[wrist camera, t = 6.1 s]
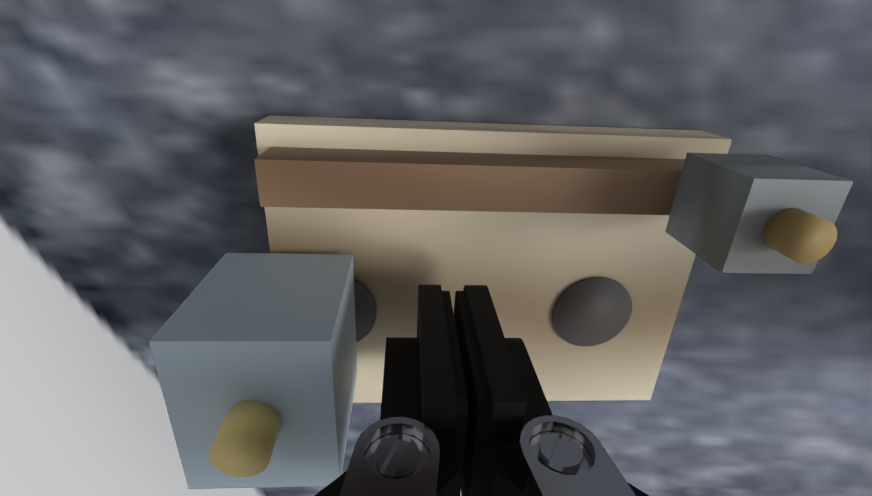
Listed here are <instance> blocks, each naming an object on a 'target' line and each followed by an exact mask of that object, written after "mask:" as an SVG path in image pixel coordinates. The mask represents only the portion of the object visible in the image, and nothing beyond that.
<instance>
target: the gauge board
mask: <svg viewBox="0 0 872 496" xmlns="http://www.w3.org/2000/svg"><path fill="white" fill-rule="evenodd" d="M254 126H255V134H256V142H257V150H258V157H256V158H255V159H254V163H255V171H256V179H257V187H258V194H259V202H260V207H265V215H266V224H267V232H268V240H269V248H270V253H279V254H353V270H354V296H355V322H356V349H357V378H356V384H355V391H354V397H353V403H382V389H383V375H384V361H385V347H386V337H417V311H418V286H419V284H421V285H441V289H442V291H450V296H451V302H452V308H453V313H454V302H455V292H456V291H463V288H464V285H487V287H488V289H489V292H490V295H491V298H492V301H493V304H494V307H495V310H496V313H497V316H498V319H499V322H500V325H501V328H502V331H503V334H504V337H505V338H521V339H522V340H523V342H524V344H525V346H526V349H527V352H528V354H529V357H530V359H531V362H532V364H533V367H534V369H535V372H536V374H537V377H538V379H539V382H540V385H541V387H542V390H543V392H544V395H545V397H546V400H547V401H590V400H651V396H652V393H653V390H654V387H655V384H656V380H657V377H658V374H659V371H660V368H661V365H662V361H663V358H664V355H665V352H666V349H667V345H668V342H669V339H670V336H671V333H672V329H673V326H674V323H675V320H676V317H677V314H678V310H679V307H680V304H681V301H682V298H683V294H684V291H685V288H686V285H687V282H688V278H689V275H690V272H691V269H692V266H693V263H694V259H695V256H696V255H698V256H699V257H700V258H702V259H703V260H705V261H706V262H707V263H709V264H710V265H711V266H713V267H714V268H716V269H717V270H718V271H720V272H721V273H771V274H813V272H814V270H815V267H816V265H817V263H818V261H819V259H821V258H823V257H824V256H825V255H826V254H827V253H828V252H829V251H830V250H831V249H832V248H833V246H834V244H835V242H836V240H837V229H836V227H835V225H834V224H835V222H836V220H837V218H838V215H839V213H840V211H841V209H842V206H843V204H844V202H845V200H846V197H847V195H848V193H849V190H850V188H851V186H852V184H853V181H851V180H848V179H845V178H841V177H838V176H835V175H832V174H828V173H825V172H822V171H819V170H815V169H812V168H809V167H806V166H802V165H799V164H796V163H792V162H789V161H786V160H783V159H779V158H776V157H773V156H770V155H751V154H728V151H729V148H730V145H731V141H732V139H729V138H726V137H722V136H719V135H715V134H712V133H708V132H705V131H701V130H673V129H644V128H615V127H587V126H558V125H530V124H501V123H472V122H444V121H415V120H386V119H358V118H329V117H300V116H272V115H269V116H268V117H266V118H264V119H262V120H260V121H258V122H256V123H254Z"/></svg>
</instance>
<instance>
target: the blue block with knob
mask: <svg viewBox="0 0 872 496" xmlns="http://www.w3.org/2000/svg"><path fill="white" fill-rule="evenodd" d="M149 344H150V348H151V351H152V355H153V359H154V363H155V366H156V370H157V374H158V377H159V381H160V385H161V388H162V392H163V396H164V399H165V403H166V407H167V410H168V414H169V418H170V422H171V425H172V428H173V432H174V436H175V440H176V444H177V447H178V451H179V455H180V458H181V462H182V466H183V469H184V473H185V476H186V480H187V484H188V488H189V489H211V488H255V487H298V486H328V485H329V484H330V483H332V482H333V481H334V480H335V479H337V478H338V477H339V476H341V475H342V470H343V463H344V456H345V450H346V443H347V437H348V430H349V424H350V417H351V411H352V404H353V397H354V391H355V384H356V378H357V349H356V322H355V296H354V270H353V254H279V253H225V255H224V256H223V257H222V258H221V259H220V260H219V261H218V263H217V264H216V265H215V266H214V267H213V268H212V269H211V271H210V272H209V273H208V274H207V275H206V276H205V277H204V279H203V280H202V281H201V282H200V283H199V284H198V286H197V287H196V288H195V289H194V290H193V291H192V292H191V294H190V295H189V296H188V297H187V298H186V299H185V300H184V302H183V303H182V304H181V305H180V306H179V307H178V308H177V310H176V311H175V312H174V313H173V314H172V315H171V317H170V318H169V319H168V320H167V321H166V322H165V323H164V325H163V326H162V327H161V328H160V329H159V330H158V331H157V333H156V334H155V335H154V336H153V337H152V338H151V339H150V341H149Z"/></svg>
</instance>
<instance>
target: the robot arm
mask: <svg viewBox="0 0 872 496" xmlns="http://www.w3.org/2000/svg"><path fill="white" fill-rule="evenodd" d="M460 490H461V493H462V496H649V495H647V494H645V493H644V492H642V491H640V490H639V489H637V488H636V487H634V486H632V485H631V484H629V483H627V482H626V480H625V479H624V477H623V476H622V474H621V473H620V471H619V470H618V468H617V467H616V465H615V464H614V462H613V461H612V459H611V458H610V456H609V455H608V453H607V452H606V450H605V449H604V447H603V446H602V444H601V443H600V441H599V440H598V439H597V438H596V437H595V436H594V434H593V433H592V432H591V431H590V430H588V429H587V428H585V427H584V426H583V425H581V424H580V423H578V422H575V421H573V420H571V419H569V418H565V417H560V416H553V415H552V412H551V410H550V407H549V405H548V402H547V400H546V397H545V395H544V392H543V390H542V387H541V385H540V382H539V379H538V377H537V374H536V372H535V369H534V367H533V364H532V362H531V359H530V357H529V354H528V352H527V349H526V346H525V344H524V342H523V340H522V339H521V338H505V337H504V334H503V331H502V328H501V325H500V322H499V319H498V316H497V313H496V310H495V307H494V304H493V301H492V298H491V295H490V292H489V289H488V287H487V285H464V288H463V291H456V292H455V302H454V313H453V308H452V302H451V296H450V291H442V289H441V285H421V284H419V286H418V311H417V337H386V347H385V361H384V375H383V389H382V403H381V417H380V420H379V421H377V422H376V423H374V424H372V425H370V426H369V427H368V428H367V429H366V430H365V431H364V432H363V433H361V435H360V437H359V438H358V440H357V442H356V444H355V447H354V450H353V454H352V457H351V460H350V463H349V466H348V469H347V471H346V472H344V473H343V474H342V475H341V476H339V477H338V478H337V479H335V480H334V481H333V482H332V483H330V484H329V485H328V486H326V487H325V488H324V489H323V490H321V491H320V492H319V493H318V494H316V495H315V496H460Z"/></svg>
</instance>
